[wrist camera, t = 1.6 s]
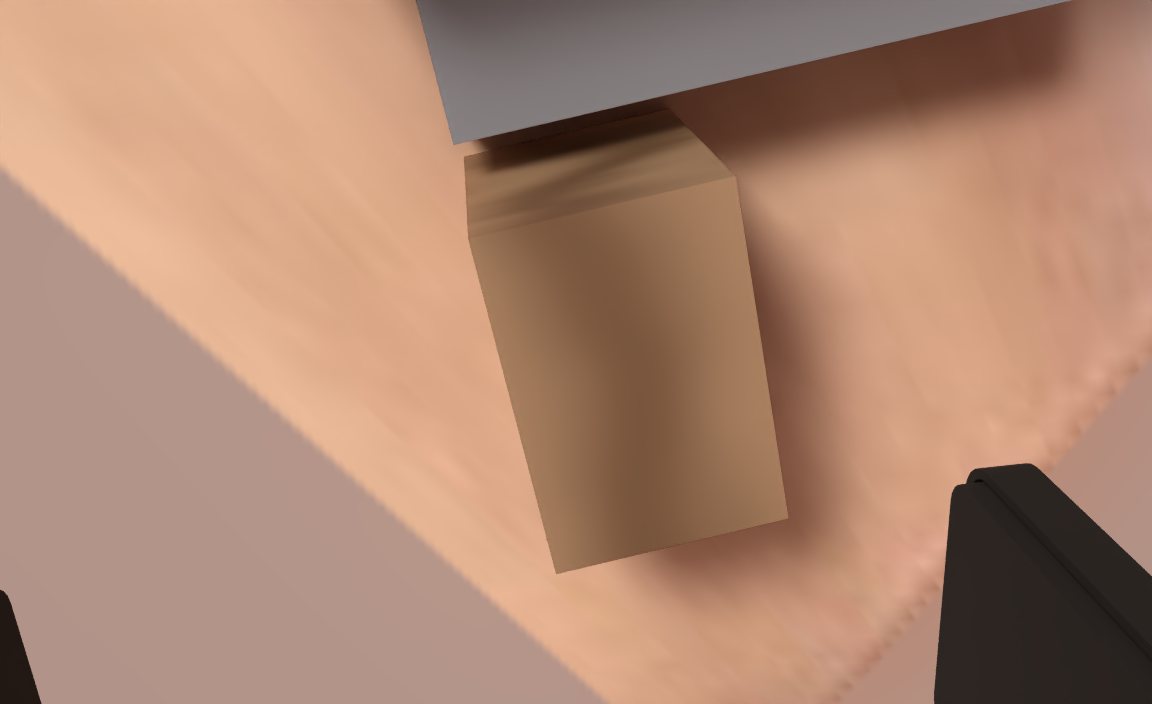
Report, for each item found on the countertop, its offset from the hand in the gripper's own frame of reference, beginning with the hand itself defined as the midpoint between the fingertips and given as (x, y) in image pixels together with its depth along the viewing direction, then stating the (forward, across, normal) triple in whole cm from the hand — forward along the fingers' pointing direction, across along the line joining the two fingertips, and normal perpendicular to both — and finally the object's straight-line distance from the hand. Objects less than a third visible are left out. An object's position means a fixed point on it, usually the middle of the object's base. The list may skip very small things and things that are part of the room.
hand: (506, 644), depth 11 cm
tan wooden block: (+22, -4, +4) cm, 23 cm away
